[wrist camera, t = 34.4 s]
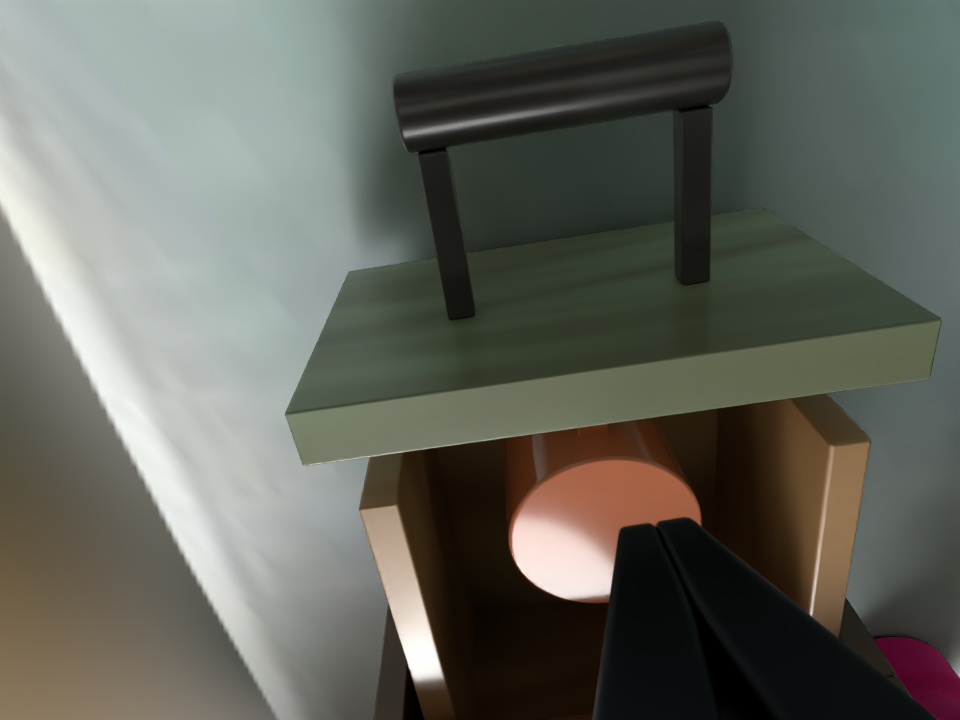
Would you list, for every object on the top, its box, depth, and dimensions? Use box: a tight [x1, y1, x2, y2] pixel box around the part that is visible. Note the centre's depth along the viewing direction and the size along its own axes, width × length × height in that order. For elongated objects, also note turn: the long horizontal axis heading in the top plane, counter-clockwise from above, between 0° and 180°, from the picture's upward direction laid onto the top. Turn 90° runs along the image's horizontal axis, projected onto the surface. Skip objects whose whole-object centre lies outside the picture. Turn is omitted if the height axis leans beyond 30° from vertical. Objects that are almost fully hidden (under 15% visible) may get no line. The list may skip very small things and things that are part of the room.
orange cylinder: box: [499, 417, 702, 603], centre depth 16 cm, size 4×6×5 cm
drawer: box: [285, 21, 941, 720], centre depth 16 cm, size 18×11×7 cm, turn 9°
